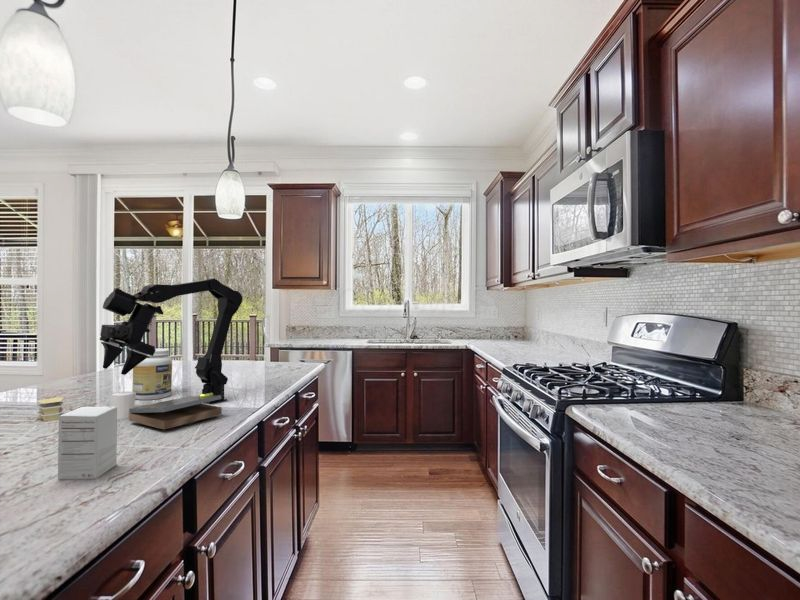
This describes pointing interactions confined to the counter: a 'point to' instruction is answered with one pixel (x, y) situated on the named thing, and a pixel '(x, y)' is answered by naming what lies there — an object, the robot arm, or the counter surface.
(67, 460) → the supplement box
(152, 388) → the supplement tub
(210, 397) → the levelling plate
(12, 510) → the counter surface
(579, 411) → the counter surface
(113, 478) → the counter surface
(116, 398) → the white cup
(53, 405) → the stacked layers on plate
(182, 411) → the brown wooden board
